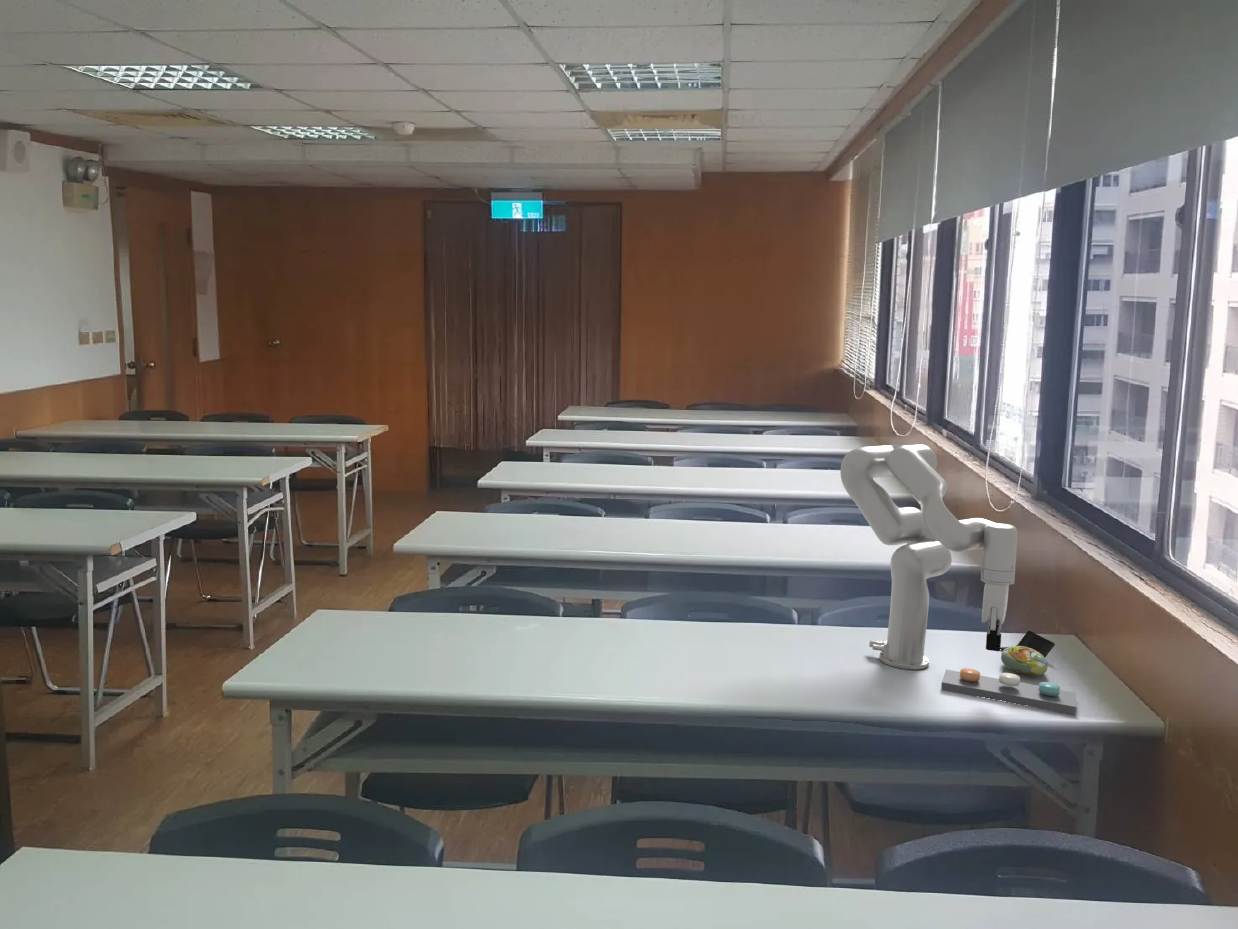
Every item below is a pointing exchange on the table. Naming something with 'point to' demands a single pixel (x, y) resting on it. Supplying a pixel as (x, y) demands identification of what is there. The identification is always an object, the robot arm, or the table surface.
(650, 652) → the table surface
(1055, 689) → the button teal
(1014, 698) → the button panel
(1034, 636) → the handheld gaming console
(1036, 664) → the cell model
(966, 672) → the button terracotta
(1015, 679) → the button ivory
